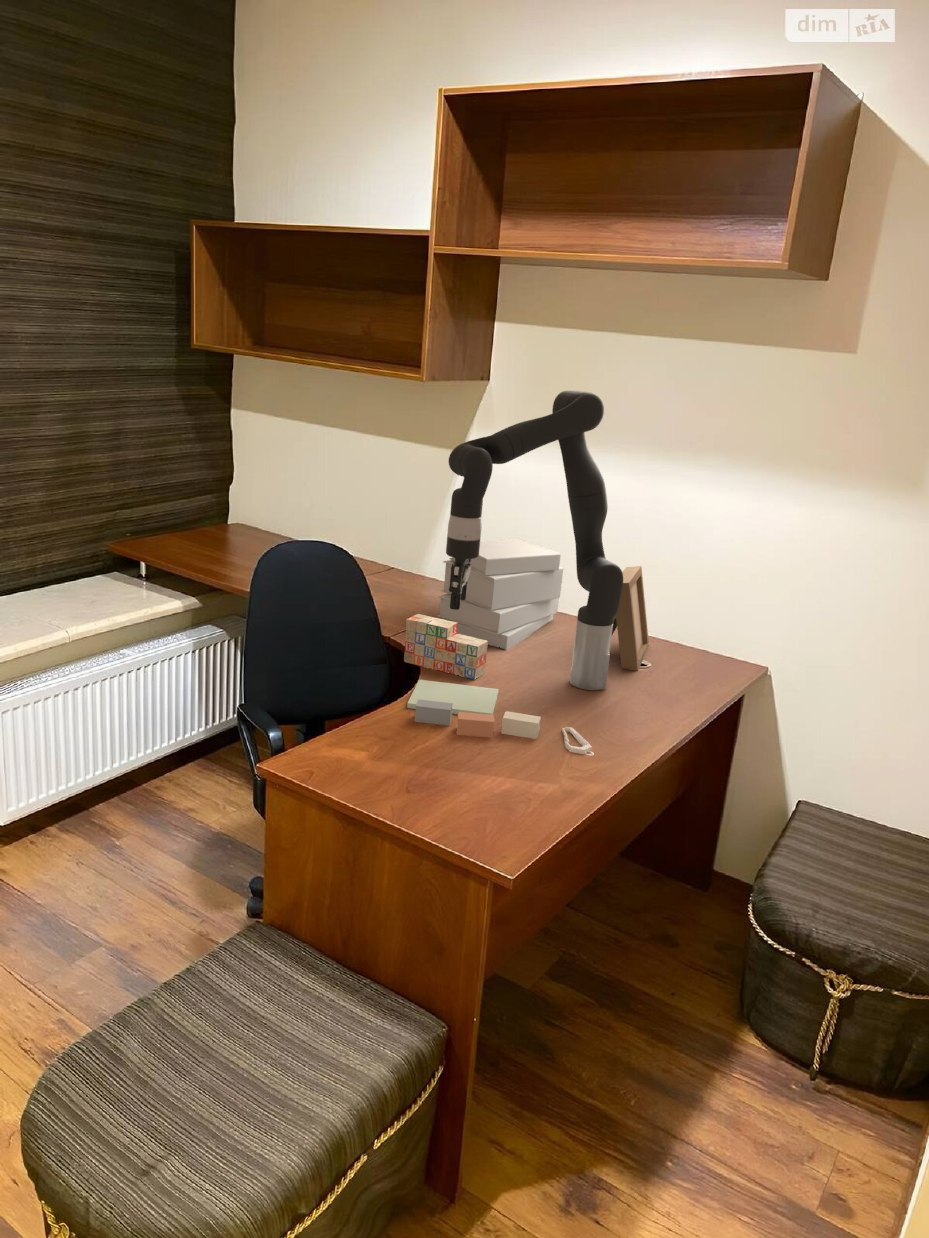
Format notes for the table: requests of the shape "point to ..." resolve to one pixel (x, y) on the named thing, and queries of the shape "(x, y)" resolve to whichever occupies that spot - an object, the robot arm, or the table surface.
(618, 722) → the table surface
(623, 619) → the photo frame
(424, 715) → the slate brick
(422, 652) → the stack of blocks
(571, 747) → the white triangle frame
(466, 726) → the terracotta brick
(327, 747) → the table surface
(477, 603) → the book stack
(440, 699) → the sage baseplate
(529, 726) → the cream brick
